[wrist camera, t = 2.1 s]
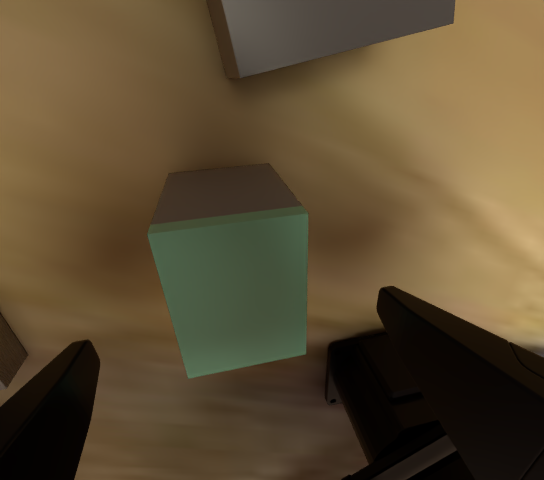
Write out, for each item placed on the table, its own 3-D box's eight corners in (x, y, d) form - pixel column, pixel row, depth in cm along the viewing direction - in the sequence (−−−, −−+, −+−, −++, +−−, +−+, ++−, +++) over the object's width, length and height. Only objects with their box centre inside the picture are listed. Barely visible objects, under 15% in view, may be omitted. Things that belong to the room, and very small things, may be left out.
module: (273, 269, 17) (306, 354, 12) (192, 282, 16) (188, 378, 11) (268, 163, 14) (308, 213, 9) (168, 173, 13) (147, 234, 8)
